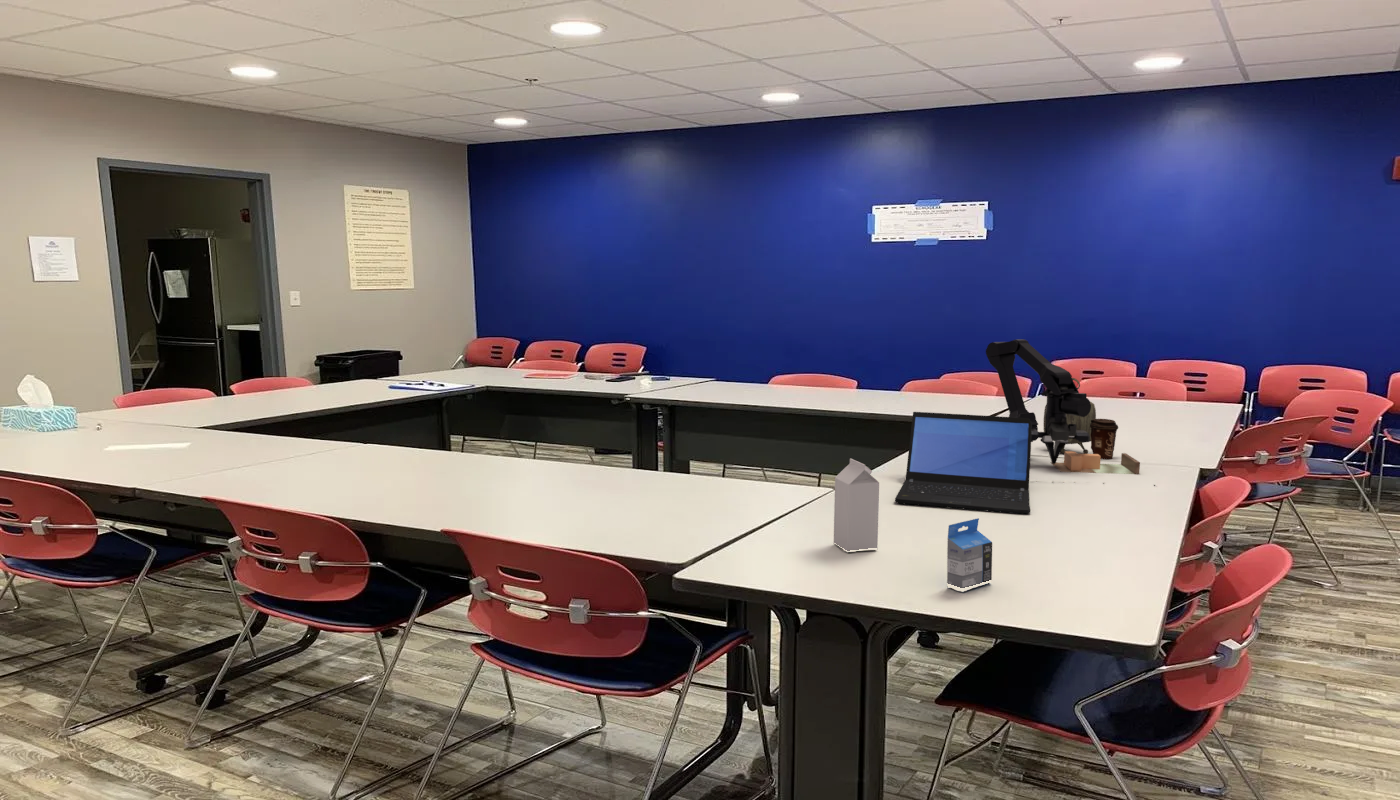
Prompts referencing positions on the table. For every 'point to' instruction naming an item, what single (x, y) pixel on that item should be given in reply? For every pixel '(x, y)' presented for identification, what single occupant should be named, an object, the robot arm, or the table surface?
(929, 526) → the table surface
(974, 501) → the laptop
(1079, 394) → the robot arm
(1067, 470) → the board
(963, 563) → the label tape box
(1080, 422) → the tabletop clock
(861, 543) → the milk carton
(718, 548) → the table surface
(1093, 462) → the tee block
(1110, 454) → the coffee cup
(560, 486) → the table surface
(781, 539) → the table surface
